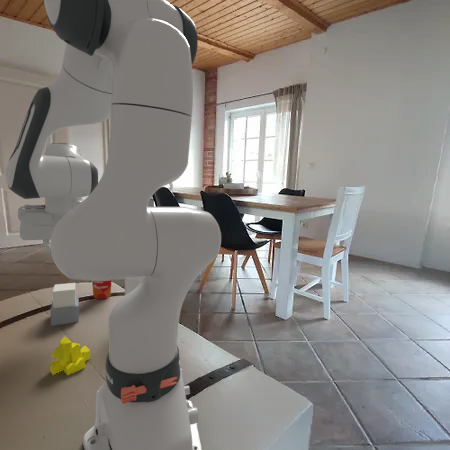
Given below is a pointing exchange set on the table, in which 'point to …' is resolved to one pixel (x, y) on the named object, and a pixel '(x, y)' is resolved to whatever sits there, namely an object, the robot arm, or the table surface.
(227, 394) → the table surface
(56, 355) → the yellow crystal cluster
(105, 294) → the paper cup
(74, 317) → the tower base block
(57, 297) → the tower top block
